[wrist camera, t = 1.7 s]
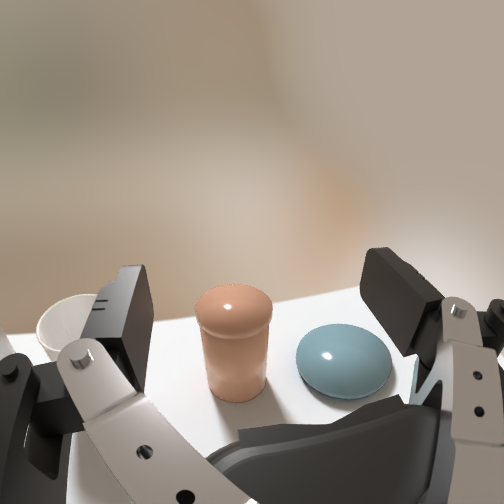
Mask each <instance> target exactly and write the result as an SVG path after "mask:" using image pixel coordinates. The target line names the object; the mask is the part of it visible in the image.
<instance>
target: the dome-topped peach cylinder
mask: <svg viewBox="0 0 504 504" xmlns="http://www.w3.org/2000/svg"><path fill="white" fill-rule="evenodd" d="M272 309H273V308H272V302H271V300H270V298H269V297H268V296H267V295H266V294H265V293H264V292H262V291H261V290H259V289H257V288H254V287H251V286H247V285H241V284H229V285H222V286H218V287H215V288H212V289H210V290H208V291H206V292H205V293H204V294H203V295H201V296H200V298H199V299H198V300H197V302H196V305H195V312H196V319H197V322H198V324H199V326H200V332H201V339H202V346H203V353H204V360H205V366H206V373H207V379H208V385H209V388H210V390H211V391H212V392H213V394H215V395H216V396H217V397H218V398H220V399H222V400H225V401H228V402H245V401H248V400H251V399H253V398H255V397H256V396H258V395H259V394H260V393H261V391H262V390H263V388H264V386H265V381H266V366H267V351H268V335H269V323H270V321H271V319H272Z"/></svg>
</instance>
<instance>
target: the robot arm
mask: <svg viewBox="0 0 504 504" xmlns="http://www.w3.org/2000/svg"><path fill="white" fill-rule="evenodd" d="M360 294H361V297H362V299H363V301H364V302H365V304H366V305H367V306H368V308H369V309H370V310H371V312H372V313H373V315H374V316H375V317H376V319H377V320H378V321H379V323H380V324H381V326H382V327H383V328H384V330H385V331H386V333H387V334H388V335H389V337H390V338H391V340H392V341H393V343H394V344H395V346H396V347H397V348H398V350H399V351H400V353H401V354H402V356H403V357H406V356H410V355H413V354H417V355H418V357H417V359H416V361H415V365H414V373H413V381H412V388H411V394H410V400H409V404H404V403H403V401H402V399H401V397H400V396H399V394H398V395H395V396H392V397H389V398H386V399H383V400H379V401H376V402H373V403H370V404H366V405H364V406H362V407H361V408H359V409H357V410H355V411H354V412H352V413H350V414H348V415H346V416H345V417H343V418H341V419H339V420H337V421H335V422H333V423H331V424H321V425H311V424H278V425H272V426H265V427H258V428H250V429H242V430H238V440H239V441H237V442H235V443H232V444H229V445H227V446H225V447H222V448H220V449H219V450H217V451H215V452H213V453H212V454H210V455H209V456H208V457H206V458H204V457H203V456H202V455H201V454H200V453H198V452H197V451H196V450H195V449H194V448H193V447H192V446H191V445H190V444H189V443H188V442H187V441H186V440H185V439H184V438H183V437H182V436H181V435H180V433H179V432H178V431H177V430H176V429H175V428H174V427H173V426H172V425H171V424H170V423H169V422H168V421H167V420H166V419H165V417H164V416H163V415H162V414H161V413H160V412H159V411H158V410H157V408H156V407H155V406H154V405H153V404H152V403H151V401H150V400H149V399H148V398H147V397H146V396H145V395H144V387H145V378H146V369H147V361H148V353H149V346H150V339H151V332H152V326H153V318H154V317H153V316H154V313H153V303H152V298H151V293H150V289H149V284H148V279H147V274H146V269H145V266H144V265H128V266H122V267H121V269H120V272H119V274H118V277H117V279H116V281H109V282H107V283H106V284H105V285H104V286H103V287H102V288H101V289H100V291H99V292H98V295H97V297H96V299H95V302H94V304H93V306H92V311H90V313H89V316H88V318H87V321H86V323H85V326H84V328H83V331H82V333H81V336H80V338H79V339H78V340H75V341H72V342H70V343H69V344H67V345H66V346H65V347H64V348H63V349H62V350H61V351H60V353H59V354H58V357H57V361H54V362H49V363H45V364H40V365H36V366H33V364H32V363H31V361H30V360H29V358H28V357H27V356H26V355H24V354H21V353H16V352H15V351H14V349H13V347H12V346H11V344H10V342H9V340H8V338H7V337H6V335H5V333H4V331H3V329H2V327H1V325H0V504H66V492H67V477H68V465H69V455H70V446H71V439H72V433H74V432H79V431H84V430H86V432H87V434H88V435H89V437H90V439H91V440H92V442H93V444H94V445H95V447H96V449H97V450H98V452H99V453H100V455H101V456H102V458H103V460H104V461H105V463H106V464H107V466H108V467H109V469H110V470H111V471H112V473H113V474H114V476H115V477H116V479H117V480H118V481H119V483H120V484H121V485H122V487H123V488H124V489H125V491H126V492H127V493H128V495H129V496H130V497H131V499H132V500H133V501H134V502H135V504H504V370H503V369H502V367H501V366H500V365H499V363H498V361H497V357H498V356H499V354H500V353H501V351H502V349H503V347H504V300H501V299H494V300H492V301H491V303H490V305H489V307H488V309H487V311H486V312H479V311H476V310H475V308H474V307H473V306H472V305H471V304H470V303H468V302H467V301H465V300H463V299H461V298H457V297H447V298H445V297H444V296H443V295H442V294H441V293H440V292H439V291H438V290H437V289H436V288H435V287H434V286H433V285H432V284H430V283H429V282H428V281H427V280H425V278H424V277H423V276H422V275H421V274H419V273H418V271H417V270H416V269H415V268H414V267H413V266H411V265H410V264H408V263H407V262H405V261H403V260H402V259H401V258H399V257H398V256H397V255H396V254H395V253H394V252H393V251H392V250H391V249H389V248H388V247H383V248H371V249H369V250H368V251H367V253H366V257H365V262H364V267H363V272H362V277H361V282H360ZM28 425H29V427H28ZM27 428H28V431H27ZM26 433H27V436H26ZM25 437H26V441H25ZM24 442H25V446H24Z"/></svg>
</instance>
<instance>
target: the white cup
mask: <svg viewBox="0 0 504 504" xmlns="http://www.w3.org/2000/svg"><path fill="white" fill-rule="evenodd" d="M96 297H97V295H94V294H82V295H75V296H71V297H68V298H66V299H63V300H61V301H59V302H57V303H56V304H54V305H53V306H52V307H50V308H49V309H48V310H47V311H46V312H45V313H44V314H43V315H42V317H41V318H40V320H39V322H38V325H37V329H36V335H37V339H38V341H39V343H40V344H41V346H42V348H43V349H44V351H45V353H46V354H47V356H48V357H49V359H50V360H51V362H54V361H57V357H58V354H59V353H60V351H61V350H62V349H63V348H64V347H65V346H66V345H67V344H69V343H70V342H72V341H75V340H78V339H79V338H80V336H81V333H82V331H83V328H84V326H85V323H86V321H87V318H88V316H89V313H90V311H92V306H93V304H94V302H95V299H96Z"/></svg>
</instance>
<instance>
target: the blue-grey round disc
mask: <svg viewBox="0 0 504 504" xmlns="http://www.w3.org/2000/svg"><path fill="white" fill-rule="evenodd" d="M296 364H297V368H298V370H299V372H300V374H301V376H302V377H303V379H304V380H305V381H306V382H307V383H308V384H309V385H310V386H311V387H313V388H314V389H316V390H317V391H319V392H321V393H323V394H326V395H328V396H331V397H335V398H341V399H357V398H362V397H365V396H368V395H370V394H372V393H374V392H376V391H377V390H379V389H380V388H381V387H382V386H383V385H384V384H385V382H386V381H387V379H388V377H389V375H390V372H391V369H392V358H391V355H390V352H389V350H388V348H387V347H386V345H385V344H384V343H383V342H382V341H381V340H380V339H379V338H378V337H377V336H376V335H374V334H373V333H371V332H369V331H367V330H365V329H363V328H360V327H357V326H353V325H347V324H331V325H325V326H321V327H318V328H316V329H314V330H312V331H310V332H309V333H308V334H306V335H305V336H304V337H303V339H302V340H301V341H300V343H299V345H298V348H297V353H296Z"/></svg>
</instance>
